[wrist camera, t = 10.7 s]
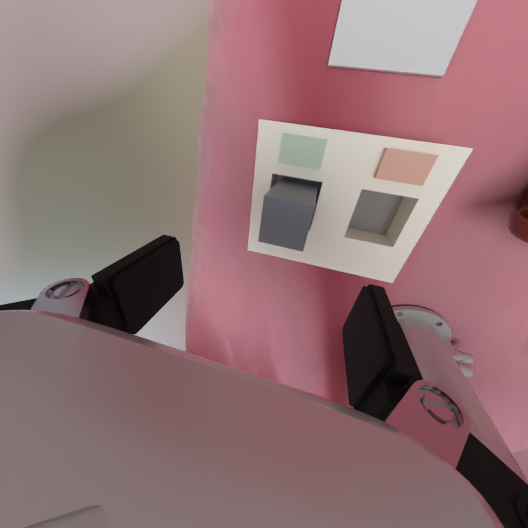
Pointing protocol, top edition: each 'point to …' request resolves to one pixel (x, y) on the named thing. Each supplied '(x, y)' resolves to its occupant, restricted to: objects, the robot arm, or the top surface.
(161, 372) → the robot arm
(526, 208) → the mug
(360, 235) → the socket block
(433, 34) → the mat
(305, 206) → the dark grey rectangular prism
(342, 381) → the top surface
